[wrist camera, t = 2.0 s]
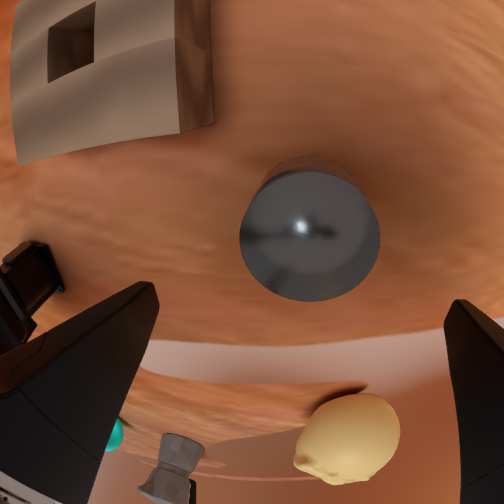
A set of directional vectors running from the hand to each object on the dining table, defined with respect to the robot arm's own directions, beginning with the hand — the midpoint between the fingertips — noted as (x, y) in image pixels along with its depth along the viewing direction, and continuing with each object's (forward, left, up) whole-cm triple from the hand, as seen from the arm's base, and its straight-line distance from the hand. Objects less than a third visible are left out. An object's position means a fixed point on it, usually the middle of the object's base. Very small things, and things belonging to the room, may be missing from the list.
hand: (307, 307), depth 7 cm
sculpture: (-27, -8, -12) cm, 31 cm away
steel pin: (0, 0, -12) cm, 12 cm away
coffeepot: (-53, +19, -12) cm, 58 cm away
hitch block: (+11, +13, -12) cm, 21 cm away
